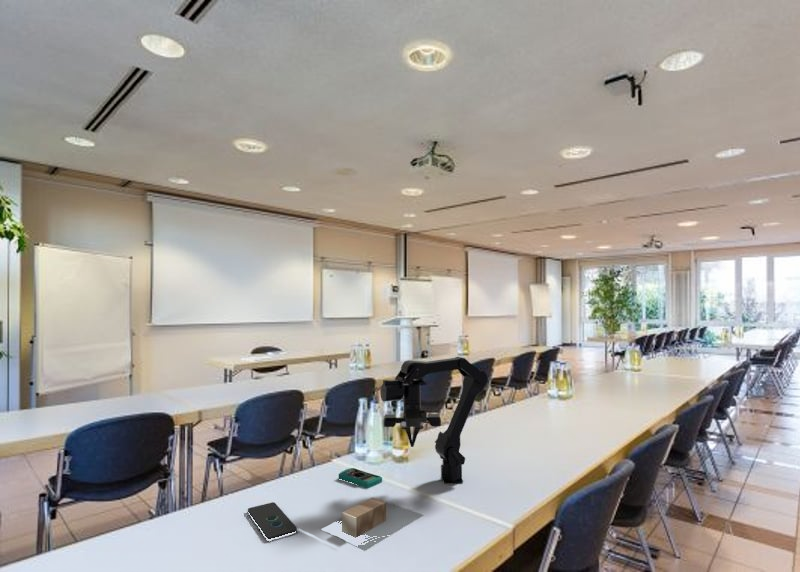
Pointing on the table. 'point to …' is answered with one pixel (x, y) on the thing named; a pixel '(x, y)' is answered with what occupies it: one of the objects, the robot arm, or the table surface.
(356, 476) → the digital multimeter
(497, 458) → the table surface
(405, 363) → the robot arm
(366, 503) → the walnut block
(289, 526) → the dark grey notebook
